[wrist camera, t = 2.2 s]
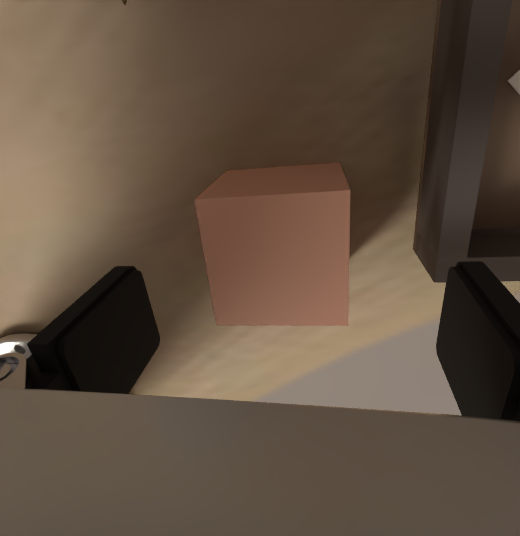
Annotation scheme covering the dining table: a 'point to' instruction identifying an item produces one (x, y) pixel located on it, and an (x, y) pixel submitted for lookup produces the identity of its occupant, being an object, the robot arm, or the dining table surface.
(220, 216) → the cube
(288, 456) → the robot arm
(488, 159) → the tray
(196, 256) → the dining table surface
